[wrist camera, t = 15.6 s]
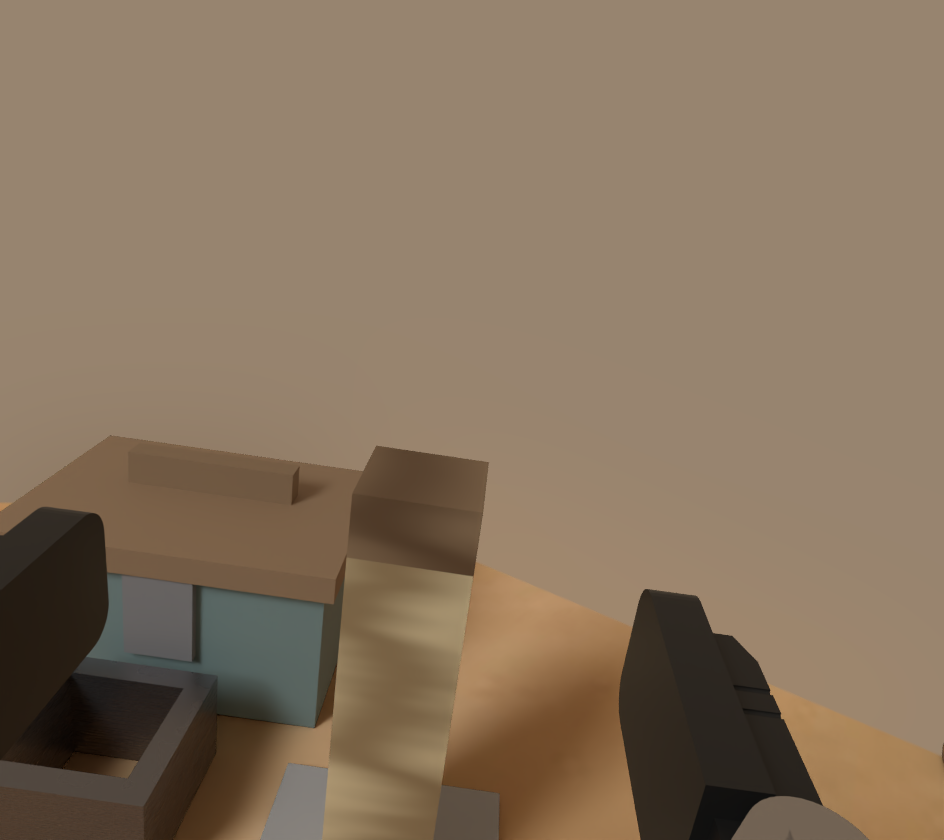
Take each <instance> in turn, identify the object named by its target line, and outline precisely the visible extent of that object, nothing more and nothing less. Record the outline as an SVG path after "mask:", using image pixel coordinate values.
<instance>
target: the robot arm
mask: <svg viewBox="0 0 944 840" xmlns="http://www.w3.org/2000/svg"><path fill="white" fill-rule="evenodd" d="M108 609H109V596H108V580H107V564H106V549H105V533H104V525H103V521H102V519H101V517H100V516H99V515H98V514H96V513H90V512H83V511H76V510H68V509H61V508H53V507H41V508H38V509H37V510H35V511H34V512H33V513H31V514H30V515H29V516H27V517H26V518H25V519H24V520H22V521H21V522H20V523H18V524H17V525H16V526H15V527H13V528H12V529H11V530H9V531H8V532H7V533H6V534H4V535H0V760H1V759H2V758H3V756H4V755H5V754H6V753H7V752H8V750H9V749H10V748H11V747H12V746H13V744H14V743H15V742H16V741H17V740H18V738H19V737H20V736H21V735H22V733H23V732H24V731H25V730H26V729H27V727H28V726H29V725H30V724H31V723H32V721H33V720H34V719H35V718H36V717H37V715H38V714H39V713H40V712H41V711H42V709H43V708H44V707H45V706H46V705H47V703H48V702H49V701H50V700H51V698H52V697H53V696H54V695H55V694H56V692H57V691H58V690H59V689H60V688H61V686H62V685H63V684H64V683H65V682H66V680H67V679H68V678H69V677H70V676H71V674H72V673H73V672H74V671H75V670H76V668H77V667H78V666H79V665H80V663H81V662H82V661H83V660H84V659H85V657H86V656H87V655H88V654H89V653H90V651H91V650H92V649H93V648H94V646H95V645H96V644H97V642H98V640H99V639H100V637H101V634H102V632H103V630H104V627H105V624H106V620H107V616H108ZM619 716H620V723H621V729H622V735H623V741H624V746H625V752H626V758H627V764H628V769H629V775H630V781H631V787H632V792H633V798H634V804H635V810H636V815H637V821H638V827H639V832H640V838H641V840H869V839H868V838H867V837H866V836H865V835H864V834H863V833H862V832H861V831H860V830H859V829H857V828H856V827H855V826H854V825H852V824H851V823H850V822H849V821H847V820H846V819H844V818H843V817H841V816H840V815H838V814H837V813H835V812H833V811H832V810H830V809H828V808H826V807H824V806H823V805H822V802H821V800H820V798H819V796H818V794H817V791H816V789H815V787H814V785H813V783H812V780H811V778H810V776H809V774H808V772H807V769H806V767H805V765H804V763H803V761H802V758H801V756H800V754H799V752H798V750H797V747H796V745H795V743H794V741H793V739H792V736H791V734H790V732H789V730H788V728H787V725H786V723H785V721H784V719H781V712H780V710H779V708H778V706H777V704H776V701H775V699H774V697H773V695H770V688H769V686H768V684H767V682H766V680H765V677H764V675H763V673H762V671H761V668H760V666H759V664H758V662H757V661H756V660H755V659H754V658H753V657H752V656H751V655H750V654H749V653H748V652H747V651H746V650H745V649H744V648H743V647H742V646H741V645H740V643H738V641H737V640H736V639H735V638H734V637H733V636H729V635H722V634H715V633H713V632H712V630H711V627H710V625H709V622H708V620H707V617H706V615H705V612H704V609H703V607H702V604H701V602H700V600H699V598H698V597H697V596H694V595H686V594H678V593H671V592H664V591H657V590H649V589H645V590H644V591H643V593H642V595H641V597H640V600H639V604H638V608H637V612H636V616H635V620H634V625H633V629H632V633H631V637H630V641H629V646H628V650H627V654H626V658H625V663H624V667H623V671H622V676H621V682H620V691H619ZM942 758H943V761H944V744H943V752H942Z"/></svg>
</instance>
